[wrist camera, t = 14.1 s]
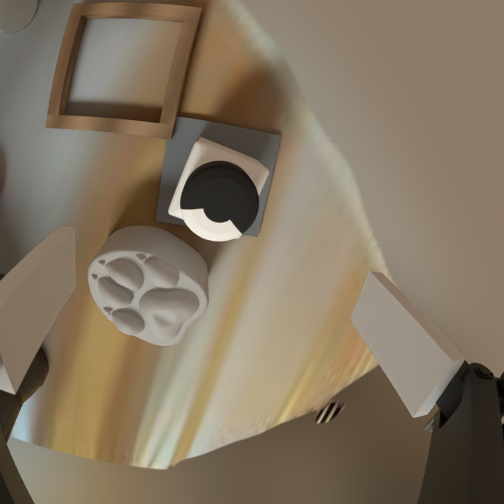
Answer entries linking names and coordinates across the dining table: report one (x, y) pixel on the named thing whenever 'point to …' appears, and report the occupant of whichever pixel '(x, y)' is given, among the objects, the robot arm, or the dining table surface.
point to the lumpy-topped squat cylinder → (149, 283)
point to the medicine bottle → (218, 191)
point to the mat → (226, 135)
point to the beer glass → (16, 14)
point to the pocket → (175, 82)
